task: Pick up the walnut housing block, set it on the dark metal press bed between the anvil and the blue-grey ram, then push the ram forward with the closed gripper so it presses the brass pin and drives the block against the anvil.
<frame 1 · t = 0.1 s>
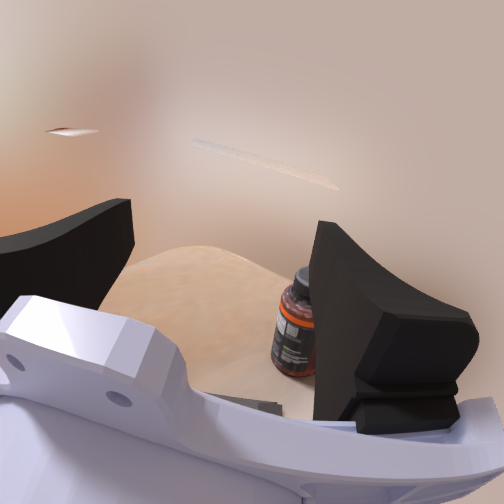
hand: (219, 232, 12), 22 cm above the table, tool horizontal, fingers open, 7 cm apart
press: (159, 440, 24), on the table
supplement bottle: (295, 360, 35), on the table
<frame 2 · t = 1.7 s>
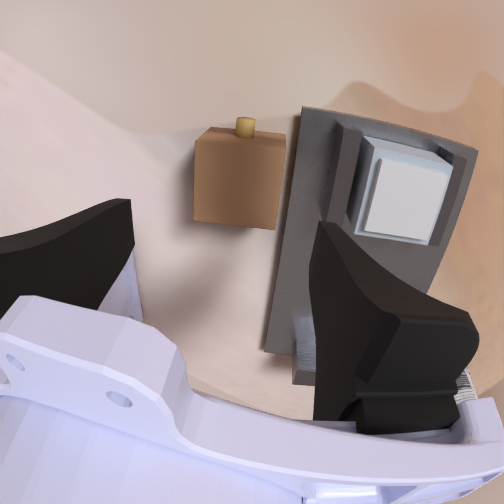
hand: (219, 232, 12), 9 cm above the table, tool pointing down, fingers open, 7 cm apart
ram: (398, 191, 17), point 3 cm above the table, slide at 0.0 cm
press: (362, 260, 23), on the table
supplement bottle: (437, 365, 29), on the table
housing: (245, 164, 20), on the table
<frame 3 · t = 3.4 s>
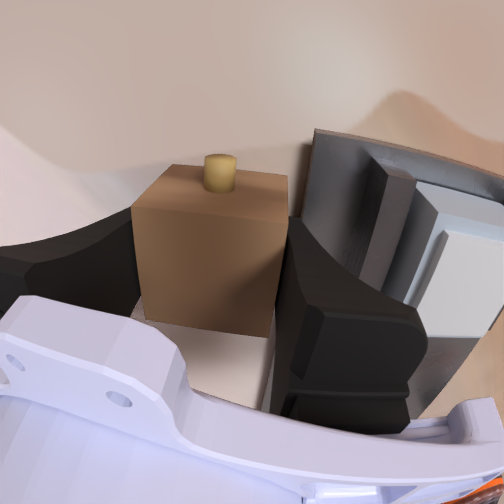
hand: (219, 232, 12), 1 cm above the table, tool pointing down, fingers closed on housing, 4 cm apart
ram: (454, 268, 11), point 3 cm above the table, slide at 0.0 cm
press: (386, 337, 16), on the table
supplement bottle: (455, 424, 22), on the table
housing: (225, 220, 13), on the table, touching gripper
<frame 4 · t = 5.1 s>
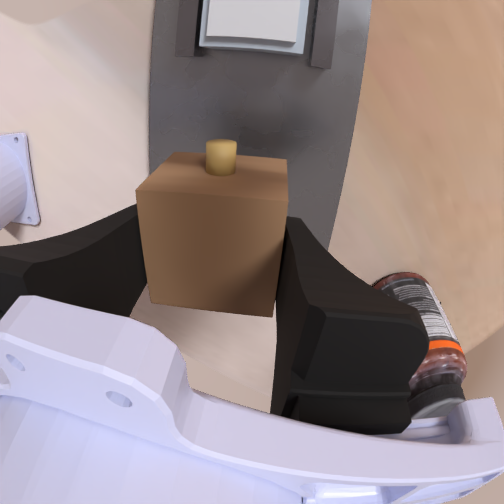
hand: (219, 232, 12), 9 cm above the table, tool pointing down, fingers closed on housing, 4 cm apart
ram: (257, 5, 12), point 3 cm above the table, slide at 0.0 cm
press: (250, 116, 18), on the table
supplement bottle: (396, 296, 24), on the table
housing: (227, 205, 14), point 7 cm above the table, touching gripper
when the fingers open (3 cm above the table, at t = 7.1 s): housing stays where it is, resting on press.
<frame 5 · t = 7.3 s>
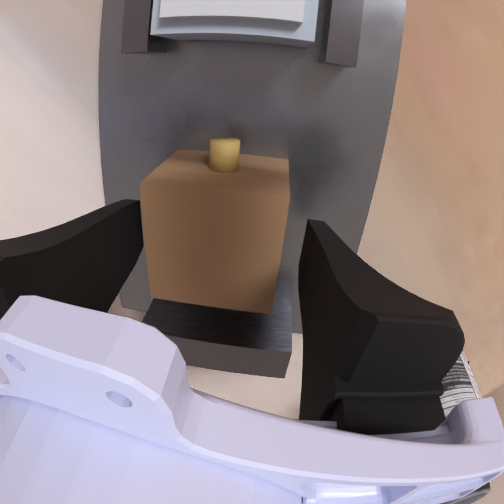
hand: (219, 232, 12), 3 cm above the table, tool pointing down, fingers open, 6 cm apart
press: (236, 135, 13), on the table
supplement bottle: (416, 350, 19), on the table
housing: (228, 203, 14), point 1 cm above the table, touching press
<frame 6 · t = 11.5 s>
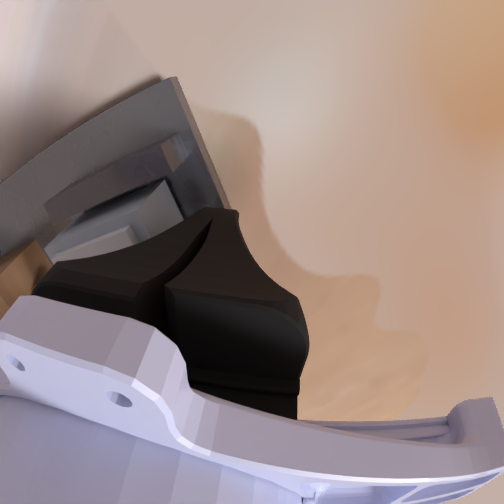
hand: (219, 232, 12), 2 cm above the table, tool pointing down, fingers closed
ram: (127, 266, 13), point 3 cm above the table, slide at 0.7 cm, touching gripper
press: (69, 262, 16), on the table
housing: (35, 279, 16), point 1 cm above the table, touching press
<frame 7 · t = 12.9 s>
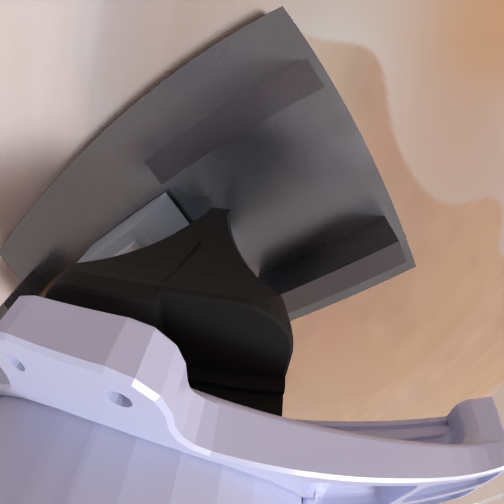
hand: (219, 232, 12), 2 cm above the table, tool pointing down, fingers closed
ram: (145, 283, 13), point 3 cm above the table, slide at 6.5 cm, touching gripper, housing
press: (164, 249, 15), on the table
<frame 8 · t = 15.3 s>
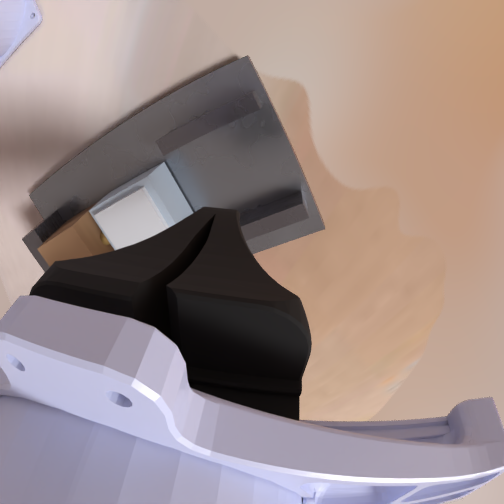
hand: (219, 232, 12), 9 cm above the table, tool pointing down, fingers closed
ram: (143, 218, 20), point 3 cm above the table, slide at 6.5 cm
press: (157, 201, 22), on the table
housing: (97, 235, 23), point 1 cm above the table, touching press
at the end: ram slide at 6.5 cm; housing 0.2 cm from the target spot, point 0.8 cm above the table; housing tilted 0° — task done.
